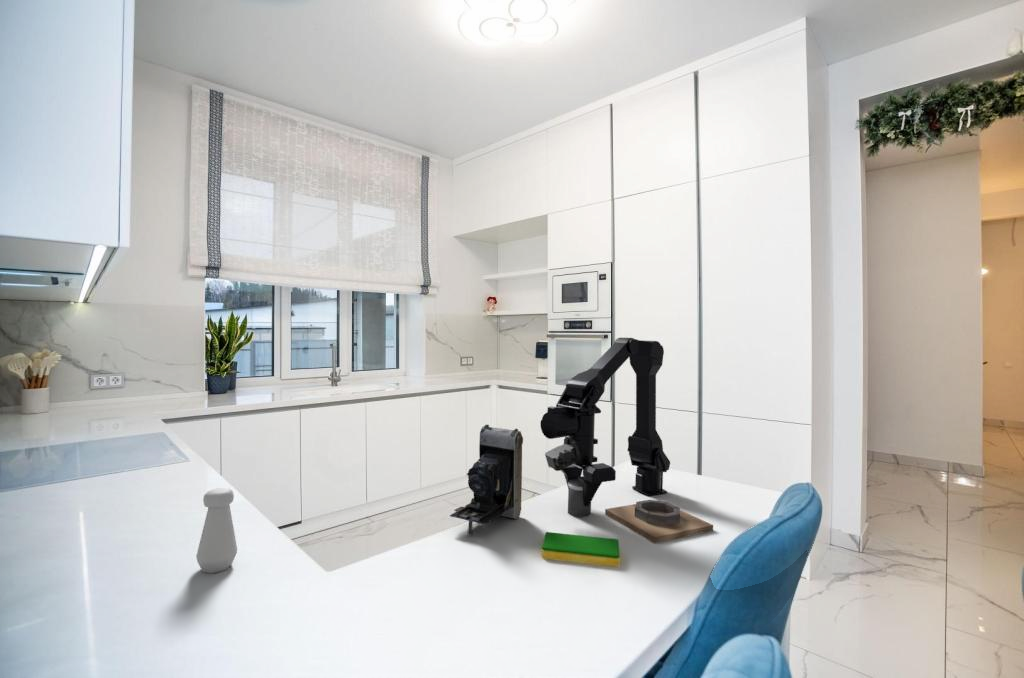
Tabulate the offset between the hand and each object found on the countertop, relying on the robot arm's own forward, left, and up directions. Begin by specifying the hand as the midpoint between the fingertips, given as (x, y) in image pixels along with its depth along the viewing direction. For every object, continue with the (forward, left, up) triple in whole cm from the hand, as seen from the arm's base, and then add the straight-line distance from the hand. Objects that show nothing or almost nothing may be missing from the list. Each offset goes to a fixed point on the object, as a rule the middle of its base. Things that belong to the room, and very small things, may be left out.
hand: (579, 501), depth 107 cm
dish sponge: (+11, +17, -3) cm, 20 cm away
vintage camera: (+22, -2, -3) cm, 22 cm away
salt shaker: (+71, -2, -3) cm, 71 cm away
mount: (-13, +11, -2) cm, 17 cm away
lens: (0, 0, -2) cm, 2 cm away
